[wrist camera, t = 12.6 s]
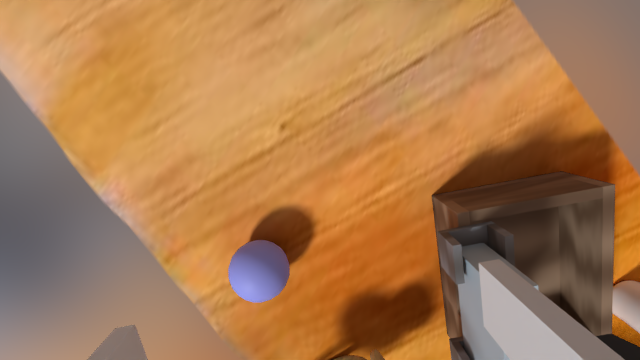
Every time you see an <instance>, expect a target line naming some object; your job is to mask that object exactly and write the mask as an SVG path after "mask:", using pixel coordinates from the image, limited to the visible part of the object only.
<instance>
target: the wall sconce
mask: <svg viewBox="0 0 640 360" xmlns="http://www.w3.org/2000/svg"><path fill="white" fill-rule="evenodd" d="M370 358H371V360H385V359H384V358H383V356H382V355H381V354H380V352H379V351H378V350H377V349H374V350H372V351H371V354H370ZM333 360H367V359H365V358H363V357H360V356H355V355H347V356H342V357H338V358H336V359H333Z"/></svg>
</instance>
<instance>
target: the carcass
mask: <svg viewBox="0 0 640 360" xmlns="http://www.w3.org/2000/svg"><path fill="white" fill-rule="evenodd" d="M432 201H433V210H434V219H435V228H436V237H437V246H438V255H439V264H440V272H441V281H442V290H443V299H444V308H445V317H446V326H447V334H448V336H449V337H450V339H449V341H450V350H451V359H452V360H470V358H469V357H468V355H467V354H466V352H465V350H464V342H463V332H462V321H461V311H460V301H459V291H458V284H463V283H465V279H464V269H463V258H462V246H467V245H473V244H478V243H485V244H486V245H487V246H488V247H490V248H491V249H492V250H494V251H495V252H496V253H497V254H499V255H500V256H501V257H503V258H504V259H505V260H506V261H508V262H509V263H510V264H512V265H513V266H514V267H515V268H517V269H518V270H519V271H521V272H522V273H523V274H524V275H526V276H527V277H528V278H530V279H531V280H532V281H533V282H535V283H536V284H537V285H538V291H540V292H541V293H542V294H543V295H545V296H546V297H547V298H548V299H550V300H551V301H552V302H553V303H555V304H556V305H557V306H558V307H560V308H561V309H562V310H563V311H565V312H566V313H567V314H568V315H570V316H571V317H572V318H573V319H575V320H576V321H577V322H578V323H580V324H581V325H582V326H583V327H585V328H586V329H587V330H588V331H590V332H591V333H592V334H593V335H595V336H599V335H605V334H612V303H613V256H614V209H615V184H611V183H607V182H603V181H598V180H594V179H590V178H586V177H582V176H578V175H574V174H570V173H566V172H562V171H560V172H555V173H550V174H544V175H539V176H533V177H528V178H523V179H517V180H512V181H506V182H501V183H496V184H490V185H485V186H479V187H474V188H469V189H463V190H458V191H452V192H447V193H442V194H436V195H432Z"/></svg>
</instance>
